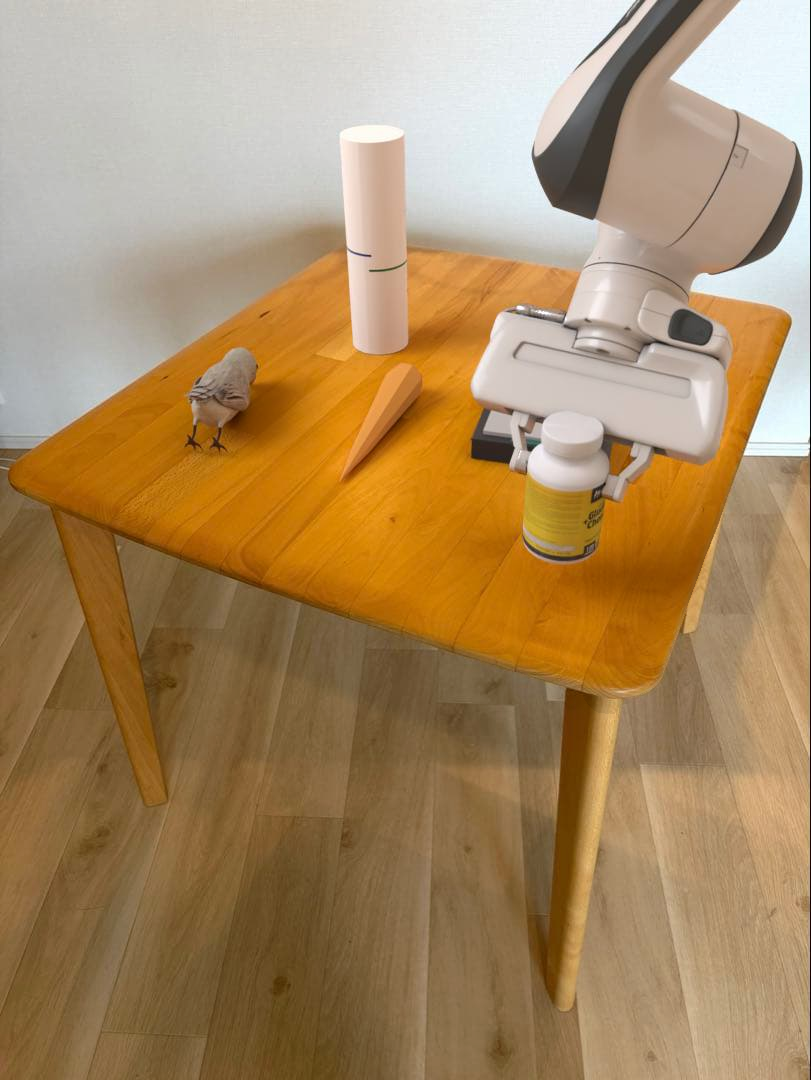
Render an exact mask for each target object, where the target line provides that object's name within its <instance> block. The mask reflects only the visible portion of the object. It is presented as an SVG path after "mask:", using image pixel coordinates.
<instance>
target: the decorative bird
mask: <svg viewBox="0 0 811 1080" xmlns="http://www.w3.org/2000/svg"><path fill="white" fill-rule="evenodd" d="M258 369H259V365H258V363H257V359H256V357H255V356H254V354H253V353H252V352H251V351H250V350H249V349H247V348H246V347H245V348H244V347H243V346H240V347H235V348H232V349H230V350H229V351H228V352H227V353H226V354H225V355H224V357H223V358H222V360H221V361H219V362H217V363H215V364H213V365H212V366H211V367H209V368H208V369H207V370H206V371H205V372H204V374H203V375H202V376H199V377H198V378H196V379H195V381H194V382H193V386H192V387H191V389H190V390H189V392H187V393H186V394H185V395H183V396H182V398H185V397H188V400H187V402H189V403H190V404H191V412H192V414H193V421H192V425H193V430H192V435H189V434H186V436H187V442H186V443H185V445H184V449H185V448H186V447H188V446H189V445H190V446H192V447H193V449H194V452H196V449H197V447H199V448H200V449H201V450H202V451H203V450H204V449H203V447H202V445H201V444H200V443H198V442H197V441H195V437H196V433H197V427H198V425H199V423H200V422H201V423H202V424H204V425H206V426H208V427H209V428H217V435H216V436H217V437H215V436H211V438H212V441H213V442H212V444H211V445H210V446H209V448H208V450H209V451H210V450H211V449H212V448H216V449H217V450H218V452H219V453H221V448H222V449H224V451H225V452H228V450H227V448H226V447H225V446H224V445H223V444H221V443H220V442H219V441H220V438H221V434H222V428H223V427H224V425H225V424H227V423H228V422H230V421H231V420H232V419H233V418H234V417H235V416H236V415H237V414H238V413H239V412H245V411H246V410H247V409H248V406H249V405H250V402H251V401H250V394H251V393H250V391H251V387H250V386H252V385H253V384H254V383H255V381H256V379H257V372H258ZM196 446H197V447H196Z"/></svg>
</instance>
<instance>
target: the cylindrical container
mask: <svg viewBox="0 0 811 1080" xmlns="http://www.w3.org/2000/svg"><path fill="white" fill-rule="evenodd" d="M339 148H340V163H341V181H342V182H341V183H342V193H343V194H342V195H343V208H344V209H343V211H344V225H345V226H344V227H345V239H346V240H345V241H346V254H347V255H346V256H347V257H346V258H347V272H348V273H347V274H348V285H349V287H348V288H349V300H350V301H349V302H350V315H351V316H350V317H351V331H352V333H351V334H352V345H353V347H354V348H355V349H356V350H357V351H359V352H361V353H364V354H368V355H375V356H381V355H382V356H383V355H390V354H394V353H397V352H400V351H402V350H404V349H405V348H406V347H407V346H408V345H409V307H408V306H409V304H408V301H409V300H408V251H407V247H408V246H407V205H406V203H407V202H406V200H407V199H406V153H405V151H406V149H405V148H406V147H405V131H404V129H402V128H399V127H396V126H392V125H387V124H365V125H357V126H352V127H348V128H346V129H343V130H342V131H341V132H340V133H339Z"/></svg>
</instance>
